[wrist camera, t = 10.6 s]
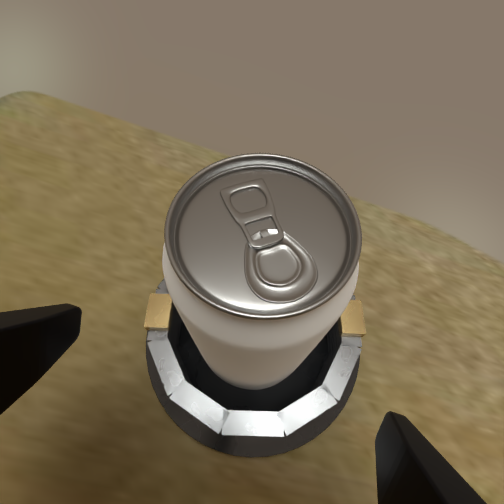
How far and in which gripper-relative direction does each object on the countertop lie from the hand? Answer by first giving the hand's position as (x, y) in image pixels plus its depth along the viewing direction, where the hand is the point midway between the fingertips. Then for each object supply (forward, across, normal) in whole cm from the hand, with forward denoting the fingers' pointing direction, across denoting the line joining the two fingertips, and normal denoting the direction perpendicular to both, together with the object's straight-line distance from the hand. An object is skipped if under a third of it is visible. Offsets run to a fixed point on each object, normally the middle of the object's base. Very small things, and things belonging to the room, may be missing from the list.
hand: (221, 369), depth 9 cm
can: (+10, 0, +4) cm, 11 cm away
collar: (+11, 0, +5) cm, 12 cm away
